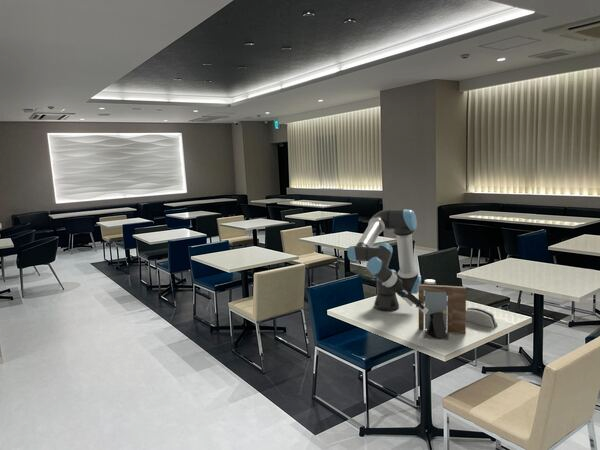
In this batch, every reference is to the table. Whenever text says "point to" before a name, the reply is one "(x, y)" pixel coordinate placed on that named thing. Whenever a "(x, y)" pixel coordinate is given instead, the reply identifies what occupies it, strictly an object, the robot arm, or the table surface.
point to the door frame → (448, 307)
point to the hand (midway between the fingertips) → (419, 307)
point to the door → (435, 305)
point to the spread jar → (429, 283)
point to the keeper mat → (435, 338)
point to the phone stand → (436, 326)
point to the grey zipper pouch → (480, 317)
